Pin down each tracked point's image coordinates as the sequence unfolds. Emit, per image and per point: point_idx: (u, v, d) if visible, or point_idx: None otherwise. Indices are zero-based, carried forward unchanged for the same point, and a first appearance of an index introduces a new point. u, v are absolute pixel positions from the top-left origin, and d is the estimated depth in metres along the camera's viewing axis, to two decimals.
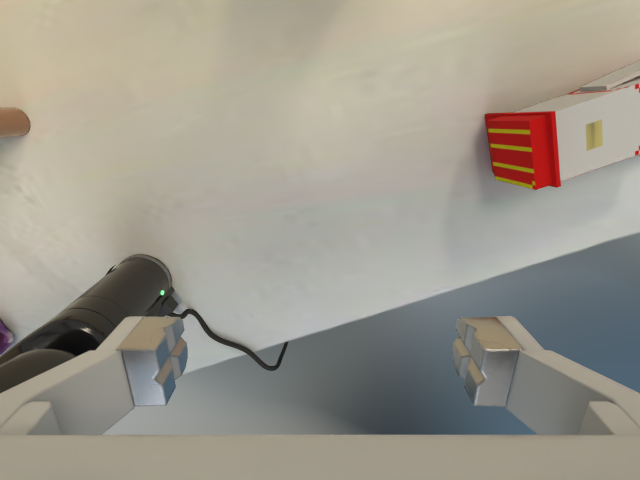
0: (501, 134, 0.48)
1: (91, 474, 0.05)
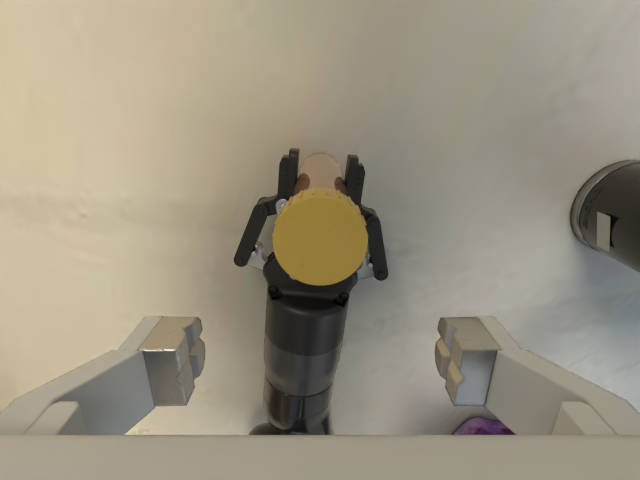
0: None
1: (91, 474, 0.05)
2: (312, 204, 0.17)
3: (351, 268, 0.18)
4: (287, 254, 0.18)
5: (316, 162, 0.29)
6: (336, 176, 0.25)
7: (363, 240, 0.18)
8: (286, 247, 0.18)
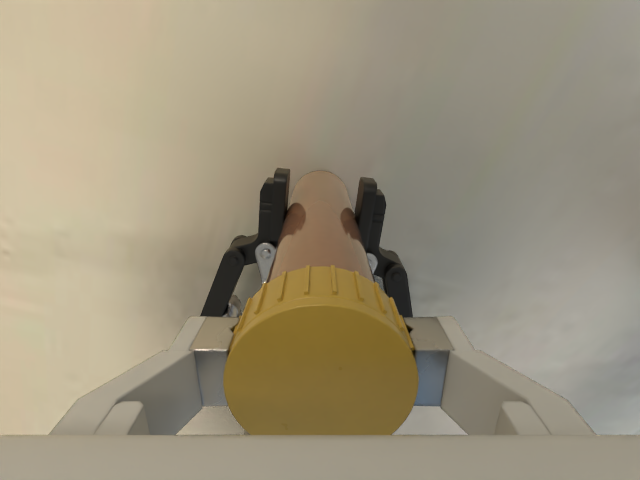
0: None
1: (91, 474, 0.05)
2: (304, 319, 0.08)
3: (383, 431, 0.09)
4: (254, 408, 0.09)
5: (314, 188, 0.20)
6: (345, 216, 0.16)
7: (409, 384, 0.09)
8: (252, 396, 0.09)
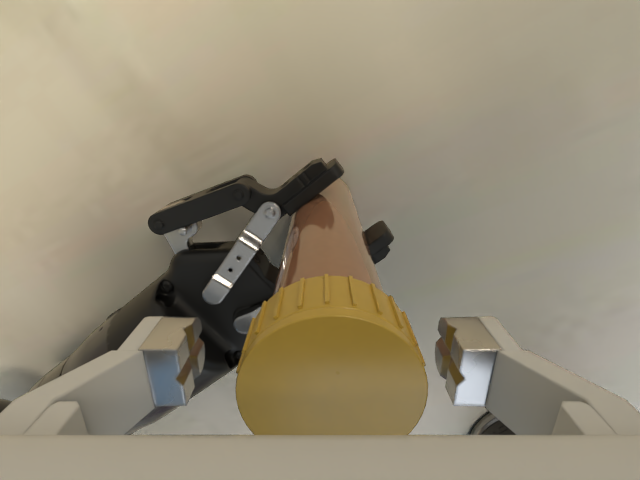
0: None
1: (91, 474, 0.05)
2: (279, 342, 0.08)
3: (412, 414, 0.09)
4: None
5: (346, 198, 0.21)
6: None
7: (410, 362, 0.08)
8: (275, 426, 0.09)
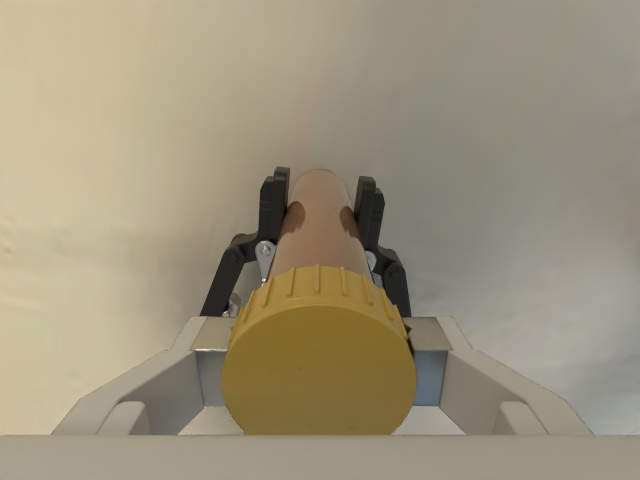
0: None
1: (91, 474, 0.05)
2: (234, 380, 0.09)
3: (397, 353, 0.08)
4: None
5: (314, 187, 0.20)
6: (344, 214, 0.16)
7: (343, 315, 0.08)
8: None
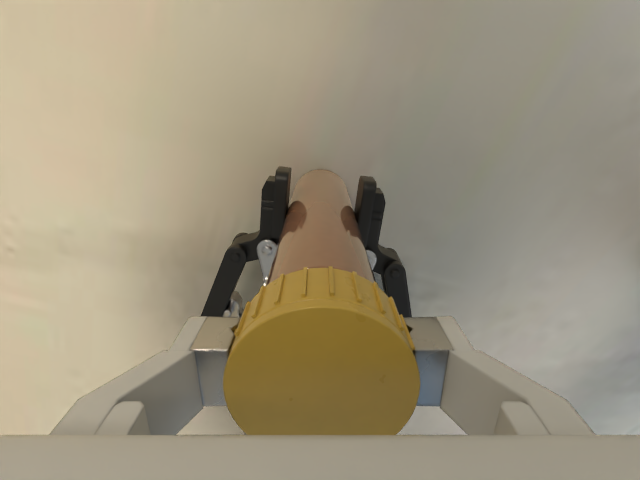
0: None
1: (91, 474, 0.05)
2: None
3: (301, 319, 0.08)
4: (389, 408, 0.09)
5: (315, 186, 0.20)
6: (345, 213, 0.17)
7: (242, 352, 0.08)
8: (380, 419, 0.09)
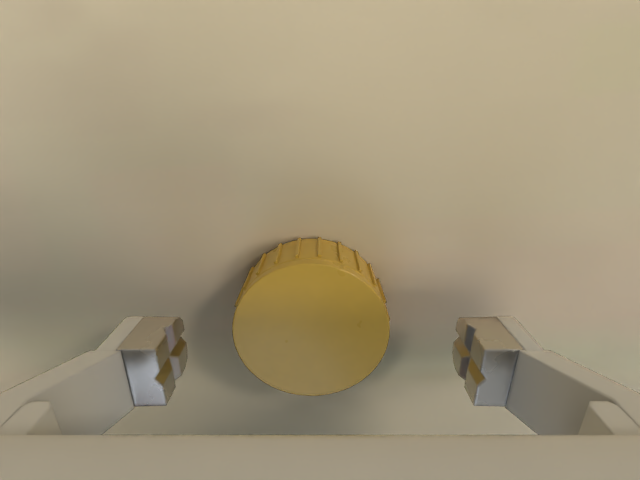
0: None
1: (91, 474, 0.05)
2: (282, 382, 0.11)
3: (295, 274, 0.10)
4: (365, 350, 0.11)
5: None
6: None
7: (248, 301, 0.10)
8: (358, 358, 0.11)
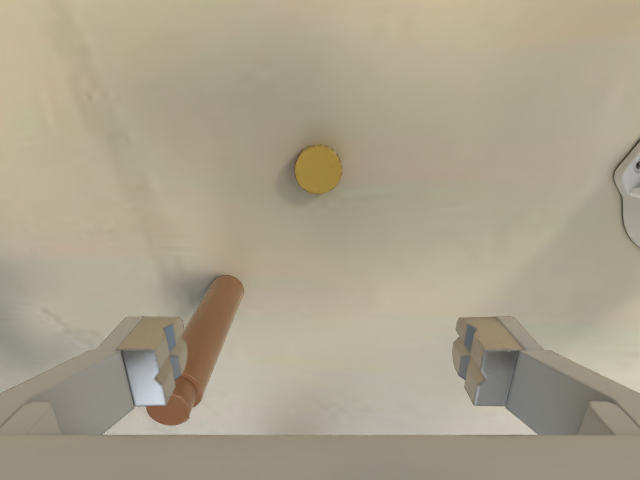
0: None
1: (91, 474, 0.05)
2: (309, 188, 0.37)
3: (313, 150, 0.35)
4: (334, 176, 0.36)
5: (230, 308, 0.38)
6: None
7: (300, 159, 0.36)
8: (332, 179, 0.37)
